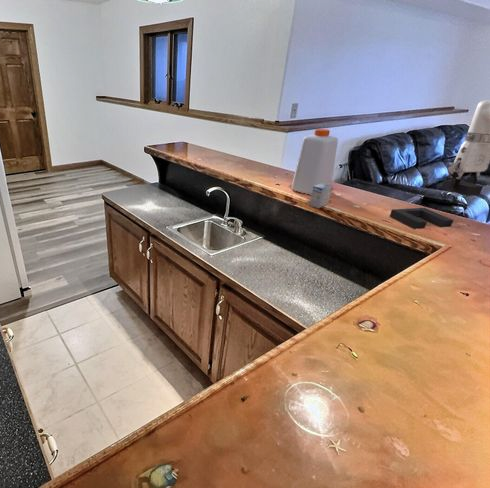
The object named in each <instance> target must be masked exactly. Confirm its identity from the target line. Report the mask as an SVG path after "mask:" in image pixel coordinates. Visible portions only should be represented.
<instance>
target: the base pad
mask: <svg viewBox="0 0 490 488" xmlns="http://www.w3.org/2000/svg"><path fill="white" fill-rule="evenodd" d="M389 217H390V218H392V219H394V220H395V221H398V222H399V223H402V224H403V225H405V226H407V227H409V228H411V229H413V230H423V229H425V228H426V226H427V223H430V224H432V225H435V226H437V227H439V228H451V227H452V226H453V223H454V219H452V218H450V217H447V216H445V215H443V214H440V213H438V212H436V211H433V210H431V209H429V208H427V207H412V208H396V209H395V208H393V209H391V210H390V214H389Z"/></svg>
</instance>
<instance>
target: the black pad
mask: <svg viewBox="0 0 490 488" xmlns="http://www.w3.org/2000/svg"><path fill="white" fill-rule="evenodd" d="M450 181H451V179H443V182H442V185H441V188H442V189H445V190H448V191H451V192H455V193H457V194H461V195H464V196H475V195H481V193H482V190H483V187H484V186H483V185H480V184H473V183H470V182H466V180H462V179H461V182H460V184H459V187H458V189H457V190H453V189H450V188H448V187H449V184H450Z"/></svg>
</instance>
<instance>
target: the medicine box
mask: <svg viewBox="0 0 490 488" xmlns="http://www.w3.org/2000/svg"><path fill="white" fill-rule="evenodd" d="M332 189H333V185H332V184H331V185H329V184H325V183H322V184H319V185H316V186H314V187H313V190H312V195H310V200H309V206H310V207H313V208H316V209H320V208H323V207H324V206H325V207H326V206H327V205H329V202H330V198H331V193H332Z"/></svg>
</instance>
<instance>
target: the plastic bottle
mask: <svg viewBox="0 0 490 488" xmlns="http://www.w3.org/2000/svg"><path fill="white" fill-rule="evenodd" d="M330 133H331V132H330V130H329V129H327V128H316V129H315V130H314V133H313V134H310V135H306V136H304V137H303V139H302V144H301V148H300V150H299V151H300V152H299V155H298V160H297V164H296V167H295V171H294V175H293V179H292V183H291V190H292V191H293V190H294V192H296V191H298V192H297V193H299V192H301V193H300V194H303V193H305V194H304V195H307V194H309V195H308V196H311V195H312V190H313V187H314V186H316V185H319V184H322V183H325V184H329V185H332V183H333V176H334V170H335V162H336V157H337V151H338V150H337V149H338V142H339V138H338V137H337V136H332V135H330Z"/></svg>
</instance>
